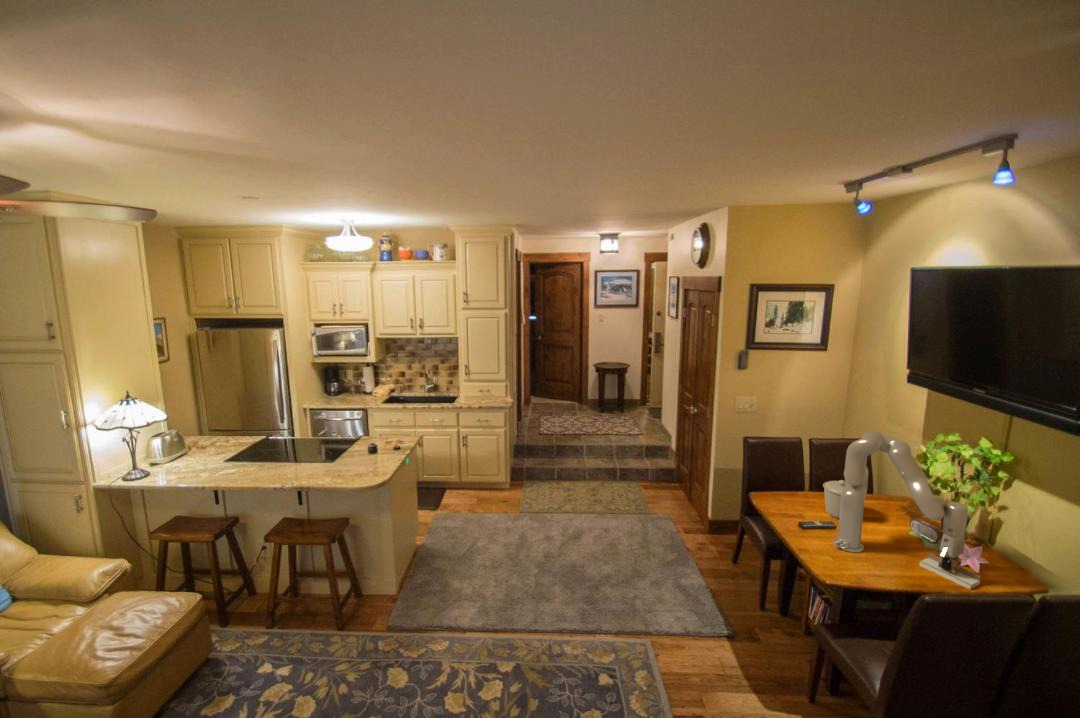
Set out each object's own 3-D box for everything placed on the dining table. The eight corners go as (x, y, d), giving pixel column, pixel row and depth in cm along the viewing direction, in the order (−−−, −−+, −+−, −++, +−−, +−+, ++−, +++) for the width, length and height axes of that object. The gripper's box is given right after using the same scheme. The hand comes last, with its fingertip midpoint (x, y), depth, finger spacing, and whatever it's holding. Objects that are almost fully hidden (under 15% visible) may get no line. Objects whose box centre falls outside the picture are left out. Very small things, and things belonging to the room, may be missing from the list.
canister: (866, 518, 257) (869, 483, 253) (843, 525, 250) (847, 489, 247) (835, 504, 273) (837, 471, 270) (813, 511, 267) (816, 477, 263)
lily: (944, 559, 220) (947, 548, 215) (964, 547, 221) (968, 536, 216) (972, 580, 210) (975, 569, 205) (992, 568, 211) (996, 557, 206)
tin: (942, 545, 230) (944, 529, 229) (937, 545, 230) (939, 530, 228) (912, 529, 245) (914, 515, 243) (907, 530, 244) (909, 515, 243)
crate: (954, 574, 203) (956, 561, 202) (938, 566, 209) (939, 554, 208) (960, 571, 205) (961, 558, 204) (943, 563, 210) (945, 551, 209)
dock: (969, 589, 197) (971, 581, 197) (919, 565, 215) (920, 557, 214) (979, 584, 201) (981, 576, 200) (929, 560, 218) (930, 553, 217)
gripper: (953, 538, 197) (948, 577, 200) (974, 529, 204) (969, 566, 207) (932, 530, 204) (928, 567, 207) (954, 521, 210) (949, 558, 213)
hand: (949, 566), depth 207 cm, fingers closed on crate, 4 cm apart
